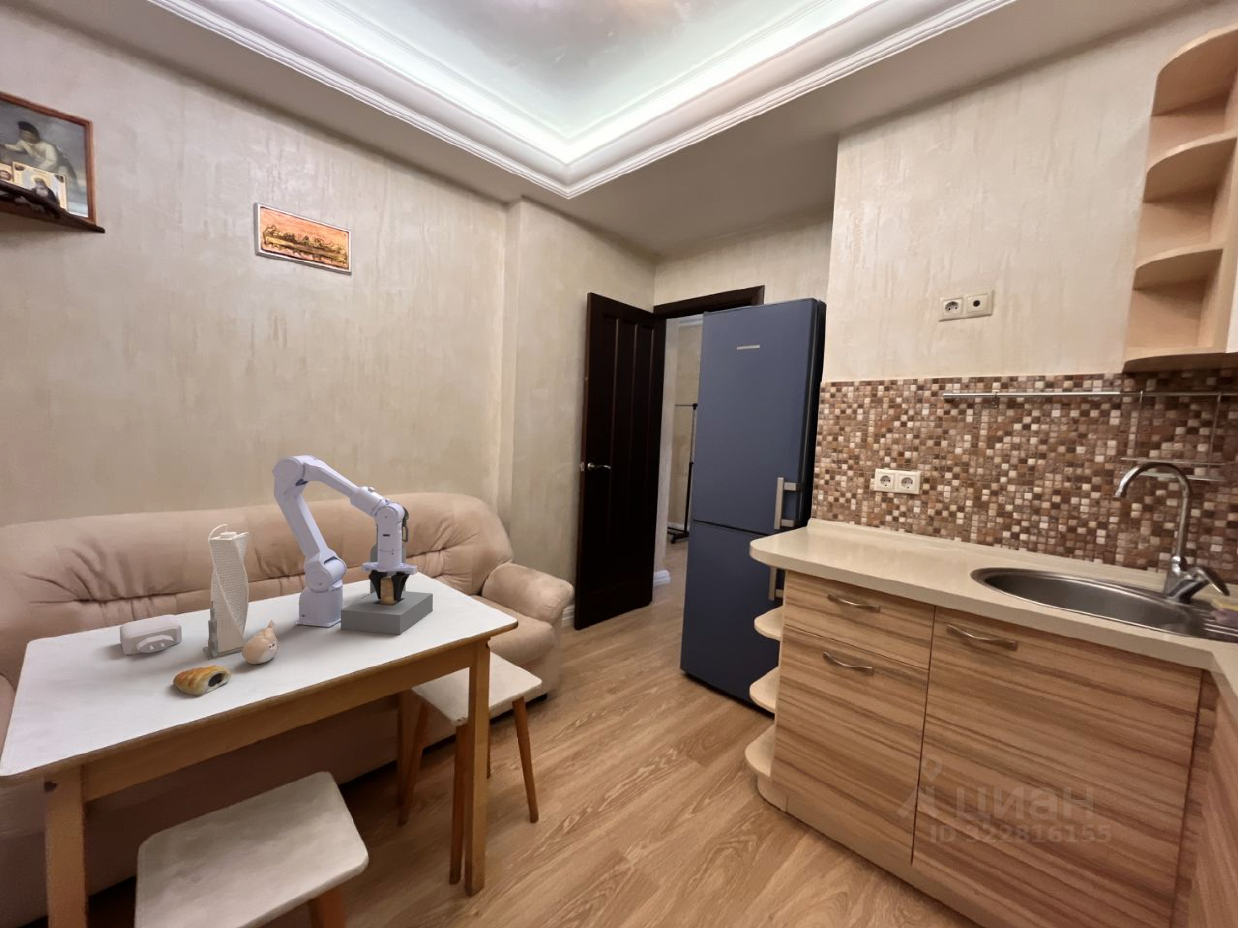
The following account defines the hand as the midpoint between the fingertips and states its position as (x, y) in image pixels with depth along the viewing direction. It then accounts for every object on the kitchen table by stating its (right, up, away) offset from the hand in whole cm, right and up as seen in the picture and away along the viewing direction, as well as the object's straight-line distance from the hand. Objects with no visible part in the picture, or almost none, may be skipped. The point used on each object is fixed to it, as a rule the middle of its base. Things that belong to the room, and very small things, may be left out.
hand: (389, 598), depth 126 cm
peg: (0, -3, 0) cm, 4 cm away
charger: (-44, -6, -20) cm, 48 cm away
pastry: (-20, -8, -34) cm, 40 cm away
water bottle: (-9, -4, +18) cm, 21 cm away
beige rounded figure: (-16, -7, -24) cm, 30 cm away
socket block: (0, -6, 0) cm, 6 cm away
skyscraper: (-28, -6, -19) cm, 34 cm away
